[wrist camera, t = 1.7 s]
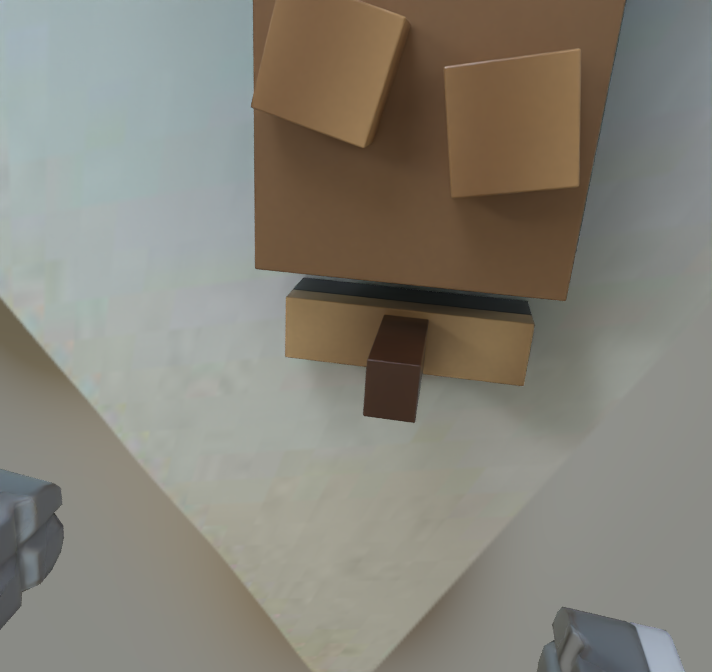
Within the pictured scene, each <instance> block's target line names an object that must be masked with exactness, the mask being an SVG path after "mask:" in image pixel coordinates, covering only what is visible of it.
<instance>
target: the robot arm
mask: <svg viewBox="0 0 712 672" xmlns="http://www.w3.org/2000/svg"><path fill="white" fill-rule="evenodd" d="M61 505H62V496H61V488H60V487H59V486H57V485H56V484H54V483H51V482H47V481H44V480H40V479H36V478H33V477H29V476H25V475H21V474H18V473H14V472H10V471H6V470H3V469H0V630H1V628H2V627H3V626H4V625H5V624H6V622H7V621H8V620H9V619H10V618H11V617H12V616H13V615H14V614H15V612H16V611H17V610H18V609H19V608H20V606H21V601H22V592H23V591H26V590H28V589H30V588H32V587H34V586H37V585H39V584H41V582H42V581H43V580H44V579H45V578H46V576H47V575H48V574H49V573H50V572H51V570H52V569H53V567H54V565H55V563H56V561H57V559H58V557H59V554H60V553H61V549H62V544H63V539H64V531H63V525H62V523H61V522H60V520H59V519H58V518H57V516H56V515H55V513H54V512H55V511H56V510H57V509H58V508H59V507H60V506H61ZM552 626H553V633H554V639H555V640H554V641H552V642H550V643H548V644H547V645H545V646H544V648H543V650H542V653H541V656H540V659H539V662H538V669H537V672H685V670H684V667H683V665H682V662H681V660H680V657H679V655H678V653H677V650H676V647H675V645H674V642H673V640H672V637H671V636H670V635H669V633H668V632H667V631H666V630H663V629H658V628H655V627H650V626H646V625H641V624H637V623H632V622H630V623H628V622H626V621H622V620H618V619H613V618H609V617H605V616H601V615H597V614H592V613H588V612H584V611H579V610H575V609H571V608H566V607H562V608H561V609H560V610H559V611H558V612H557V614H556V617H555V619H554V622H553V624H552Z"/></svg>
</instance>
